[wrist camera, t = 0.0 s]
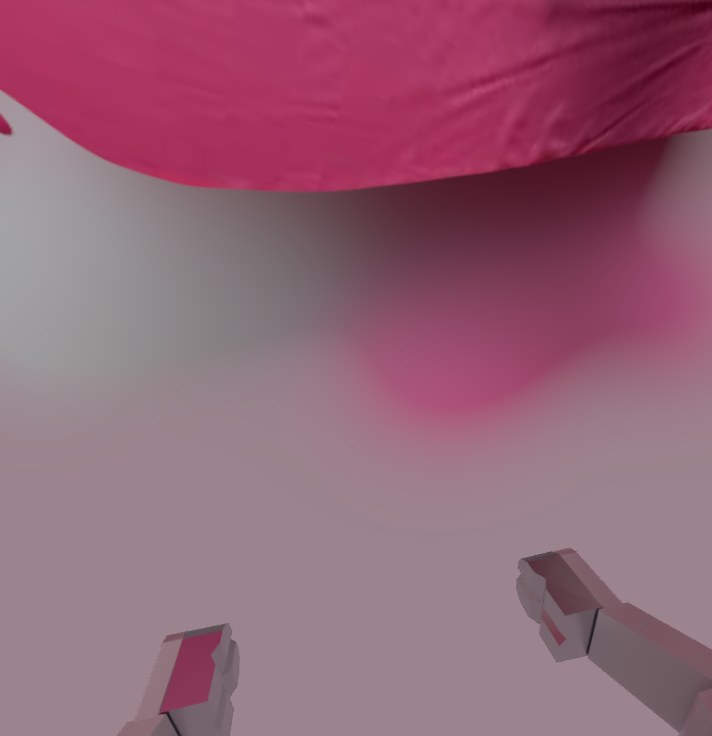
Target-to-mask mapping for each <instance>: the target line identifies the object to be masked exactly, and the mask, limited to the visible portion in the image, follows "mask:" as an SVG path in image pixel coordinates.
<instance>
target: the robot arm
mask: <svg viewBox="0 0 712 736" xmlns="http://www.w3.org/2000/svg"><path fill="white" fill-rule="evenodd" d="M518 569H519V570H520V572H521V574H520V576H519V577H518V578H517V584H516V588H517V592H518V596H519V599H520V601H521V604H522V605H523V608H524V609H525V611H526V613H527V615H528V616H529V617H530V618H531V619H533V620H535V621H536V622H537V623H538V624H539V634H540V636H541V638H542V639H543V641H544V643H545V644H546V645H547V647H548V649H549V651H550V652H551V654H552V656H553V657H554V659H555V661H556V662H561V661H565V660H570V659H575V658H579V657H583V656H588V659H590V660H591V661H592V662H593V663H594V664H596V665H597V666H598V667H599V668H601V669H602V670H603V671H604V672H606V673H607V674H608V675H609V676H610V677H612V678H613V679H614V680H615V681H616V682H618V683H619V684H620V685H622V686H623V687H624V688H625V689H626V690H628V691H629V692H630V693H631V694H632V695H634V696H635V697H636V698H637V699H639V700H640V701H641V702H642V703H644V704H645V705H646V706H647V707H648V708H650V709H651V710H652V711H653V712H655V713H656V714H657V715H658V716H659V717H661V718H662V719H663V720H664V721H665V722H667V723H668V724H669V725H670V726H672V727H673V728H674V729H675V730H677V731H678V732H679V733H680V734H679V736H712V650H711V649H710V648H708V647H706V646H704V645H702V644H701V643H699V642H697V641H696V640H694V639H692V638H690V637H688V636H687V635H685V634H683V633H681V632H680V631H678V630H676V629H674V628H672V627H671V626H669V625H667V624H665V623H663V622H662V621H660V620H658V619H656V618H655V617H653V616H651V615H649V614H647V613H646V612H644V611H642V610H641V609H639V608H637V607H635V606H633V605H632V604H630V603H628V602H627V603H622V602H621V601H620V600H619V599H618V598H617V597H616V596H615V594H614V593H613V592H612V591H611V590H610V589H609V588H608V587H607V585H606V584H605V583H604V582H603V581H602V580H601V579H600V578H599V576H598V575H597V574H596V573H595V572H594V571H593V570H592V569H591V568H590V567H589V565H588V564H587V563H586V562H585V561H584V560H583V559H582V558H581V556H580V555H579V554H578V553H577V552H576V551H575V550H573V549H571V548H566V549H562V550H558V551H554V552H552V551H551V552H547V553H543V554H538V555H534V556H530V557H526V558H522V559H520V560H519V563H518ZM231 634H232V630H231V627H230V625H229V623H227V624H221V625H217V626H212V627H207V628H202V629H197V630H193V631H186V632H182V633H177V634H172V635H168V636H166V638H165V640H164V641H163V643H162V644H161V646H160V649H159V652H158V655H157V658H156V660H155V663H154V666H153V669H152V672H151V674H150V677H149V680H148V683H147V685H146V688H145V691H144V694H143V697H142V699H141V702H140V705H139V708H138V711H137V713H136V716H135V719H134V721H131V722H128V723H126V725H125V726H124V727H123V728H122V730H121V731H120V732H119V733H118V735H117V736H230V730H231V723H232V717H233V710H234V708H233V706H232V703H231V701H230V696H231V695H232V693H233V692H234V690H235V689H236V687H237V683H238V676H239V650H238V646H237V643H236V642H235V641H233V640H232V639H231Z"/></svg>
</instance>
